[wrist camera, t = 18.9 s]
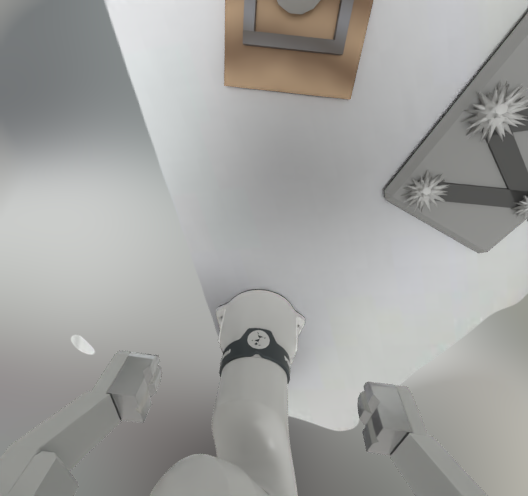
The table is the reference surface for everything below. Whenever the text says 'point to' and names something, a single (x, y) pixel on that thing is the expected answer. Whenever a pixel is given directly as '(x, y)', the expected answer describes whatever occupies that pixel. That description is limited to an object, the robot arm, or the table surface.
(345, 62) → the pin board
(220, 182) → the table surface
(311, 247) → the table surface
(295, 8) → the salt shaker
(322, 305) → the table surface
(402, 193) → the decorative plate
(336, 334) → the table surface
